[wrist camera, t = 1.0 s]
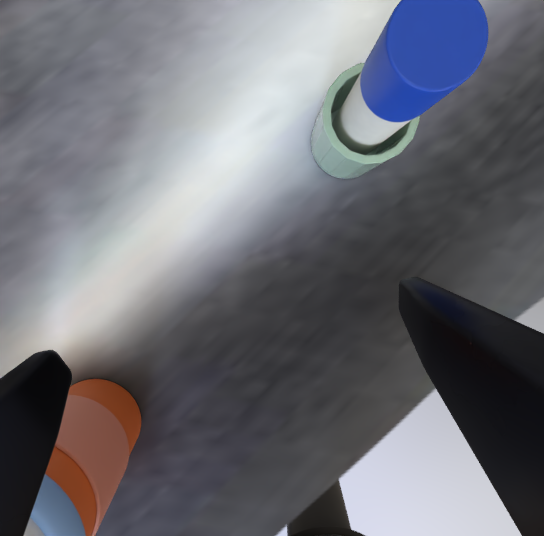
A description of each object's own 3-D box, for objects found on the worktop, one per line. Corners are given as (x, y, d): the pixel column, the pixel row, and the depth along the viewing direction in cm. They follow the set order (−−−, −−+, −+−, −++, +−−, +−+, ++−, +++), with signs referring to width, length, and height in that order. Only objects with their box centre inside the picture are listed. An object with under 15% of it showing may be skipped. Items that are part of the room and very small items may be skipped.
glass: (394, 157, 21) (435, 134, 16) (330, 191, 22) (348, 180, 16) (363, 90, 21) (395, 43, 15) (298, 126, 21) (306, 91, 16)
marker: (379, 150, 21) (505, 60, 9) (337, 172, 21) (412, 110, 10) (359, 107, 21) (465, -41, 9) (317, 129, 21) (369, 13, 9)
